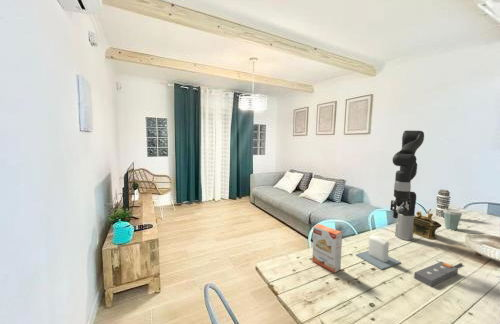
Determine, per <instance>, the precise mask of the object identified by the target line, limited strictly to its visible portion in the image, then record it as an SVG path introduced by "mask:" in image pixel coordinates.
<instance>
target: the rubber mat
mask: <svg viewBox="0 0 500 324" xmlns="http://www.w3.org/2000/svg"><path fill="white" fill-rule="evenodd" d="M355 256H357V257H358V258H359V259H361V260H364V261H366V262H367V263H368V264H370V265H372V266H374V267H376V268H378V269H379V270H382V271H383V270H386V269H387V268H390V267H394V266H396V265H399V264H401V263H402V262H401V261H399V260H398V259H396V258H393V257H391V256H390V255H388V261H387V262H382V261H380V260H378V259H376V258H374V257H372V256H370V255H369V250H365V251H362V252H359V253H356V254H355Z"/></svg>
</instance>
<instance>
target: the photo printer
mask: <svg viewBox="0 0 500 324" xmlns="http://www.w3.org/2000/svg"><path fill="white" fill-rule="evenodd" d="M368 241H369V242H368V251H369V255H370V256H372V257H374V258H376V259H378V260H380V261H382V262H387V261H388V256H389V248H390V247H389V246H390V245H389V242H388V241H387V240H386V239H384V238H383V237H380V236H378V235H370V236H369V240H368Z"/></svg>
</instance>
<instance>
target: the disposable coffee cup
mask: <svg viewBox="0 0 500 324" xmlns="http://www.w3.org/2000/svg"><path fill="white" fill-rule="evenodd" d="M443 212H444V219H443V220H444V227H445V229H447V230H449V229H451V230H450V231H457V229H458V226H459V224H460V220H461V217H462V214H463V213H462V212H461V211H459V210H455V209H452V208H448V209H447V208H446V209H444V210H443Z"/></svg>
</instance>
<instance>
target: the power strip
mask: <svg viewBox="0 0 500 324" xmlns="http://www.w3.org/2000/svg"><path fill="white" fill-rule="evenodd" d="M460 266H463V263H462V262H460V263H456V264H455V265H451V264H449V263H446V262H443V261H439V262H437V263H435V264H432V265H430V266H427V267H424V268H422V269H419V270H417V271H415V272H414V274H413V279H414V280H417V281H419V282H421V283H423V284H425V285H426V286H429V287H430V288H432V287H434V286H435V285H437V284H440V283H442V282H443V281H446V280H448V279H450V278H452V277H454V276H457V275H458V274H459V273H458V272H459V267H460Z"/></svg>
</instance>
